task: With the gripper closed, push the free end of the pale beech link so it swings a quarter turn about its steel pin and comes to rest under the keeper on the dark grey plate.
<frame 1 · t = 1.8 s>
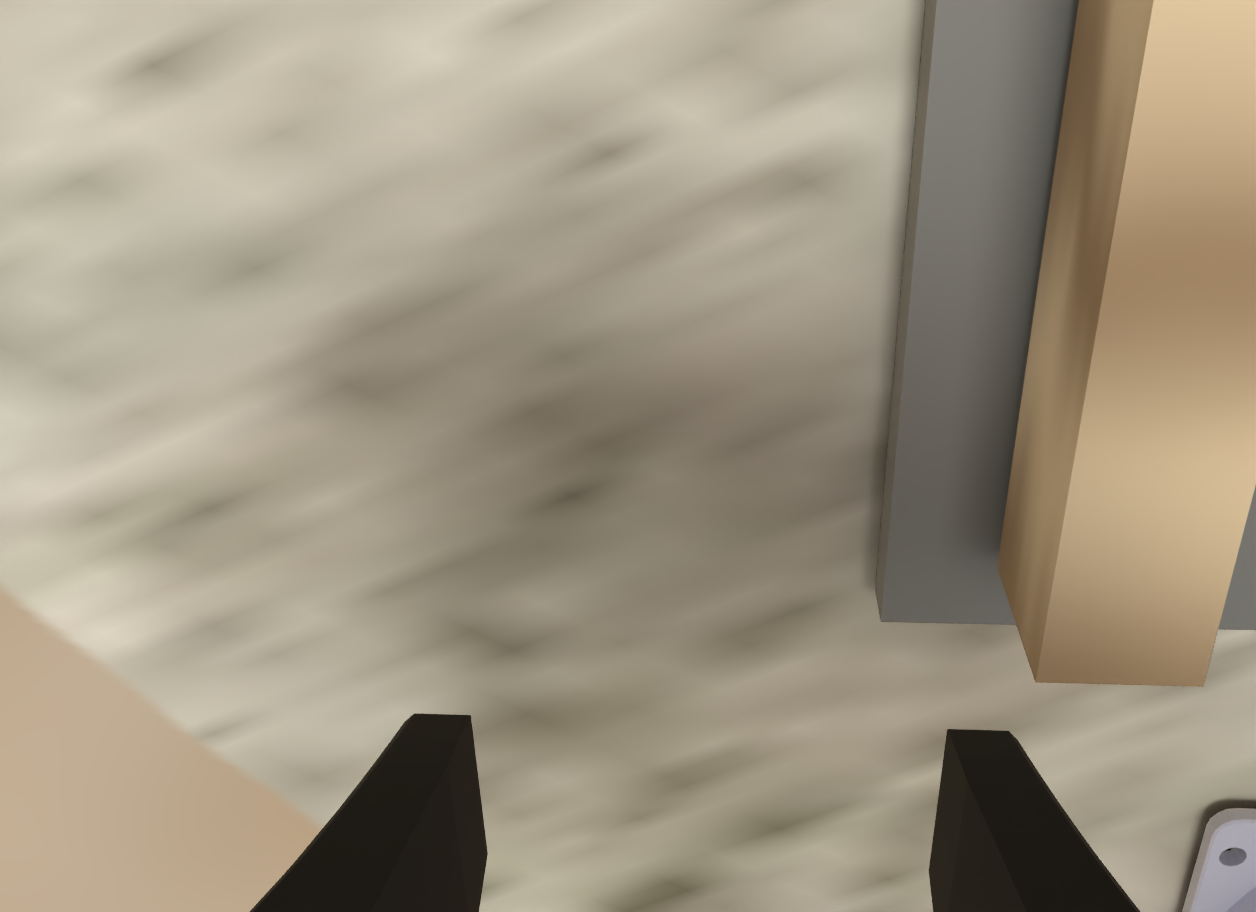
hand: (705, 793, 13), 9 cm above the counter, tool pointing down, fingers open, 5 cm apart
link: (1190, 123, 15), point 3 cm above the counter, hinge at 0.0°
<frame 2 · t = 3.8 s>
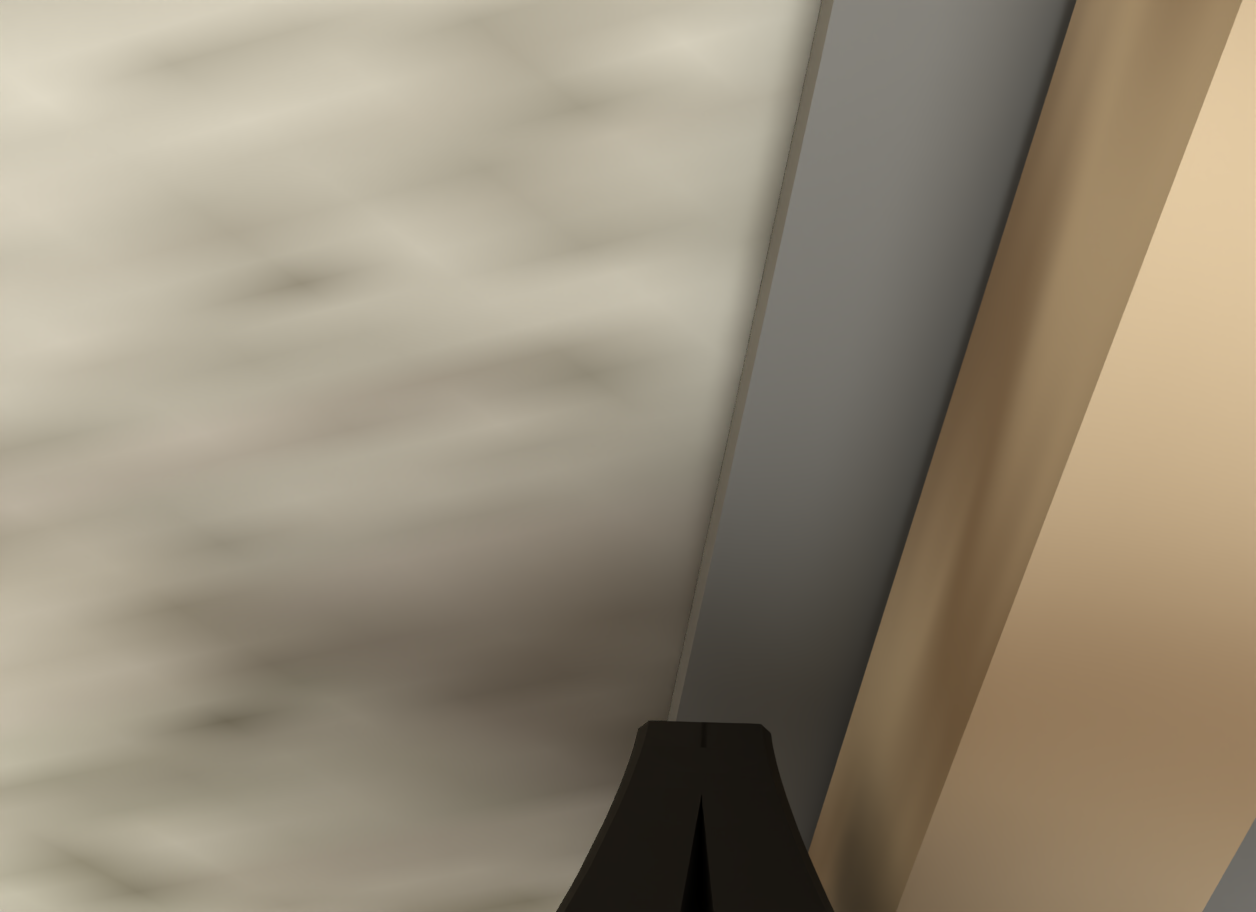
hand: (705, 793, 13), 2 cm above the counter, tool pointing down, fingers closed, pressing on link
link: (1149, 448, 9), point 3 cm above the counter, hinge at 0.0°, touching gripper
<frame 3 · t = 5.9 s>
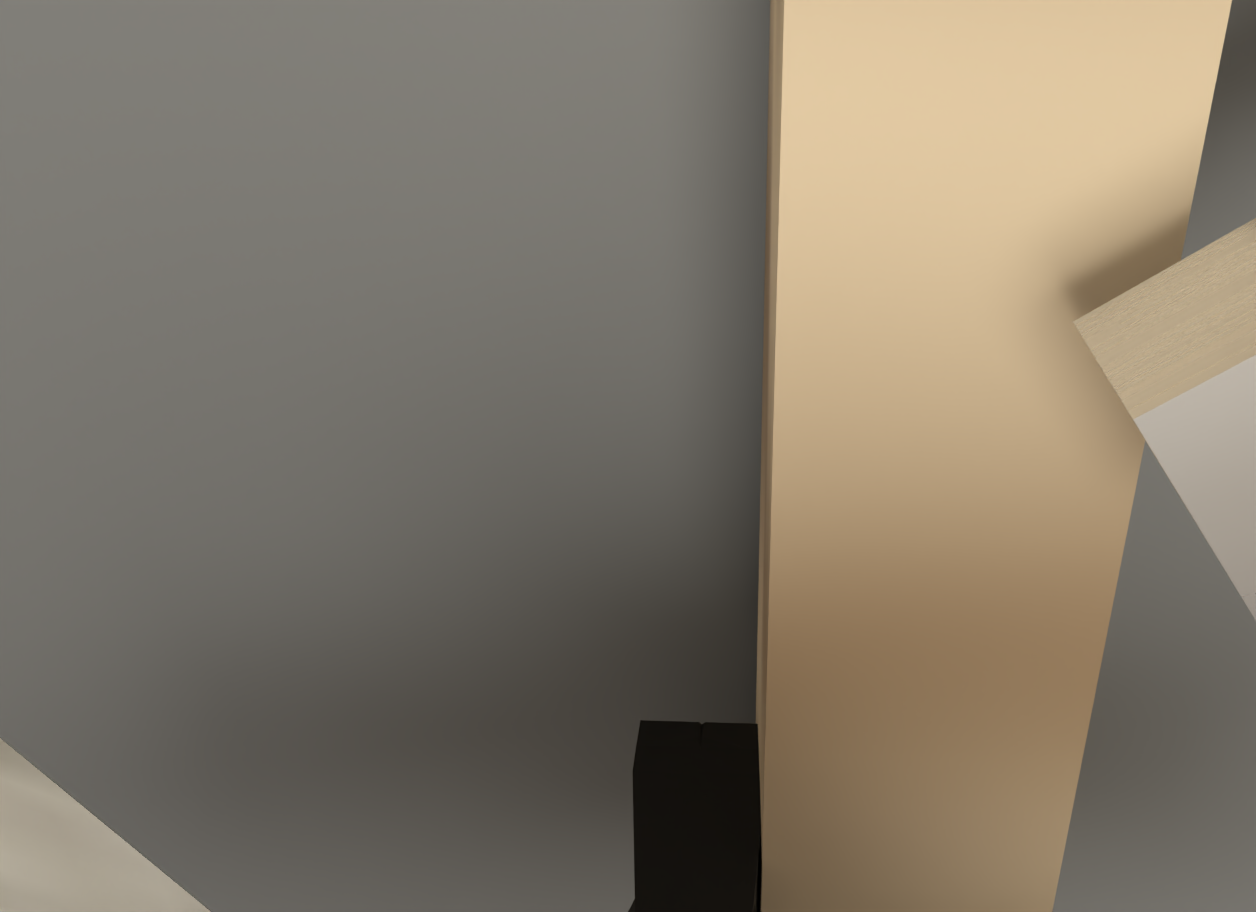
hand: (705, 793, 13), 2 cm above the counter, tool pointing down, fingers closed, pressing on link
base plate: (775, 555, 14), on the counter
keeper: (1187, 53, 11), resting on base plate
link: (921, 390, 9), point 3 cm above the counter, hinge at 55.5°, touching gripper
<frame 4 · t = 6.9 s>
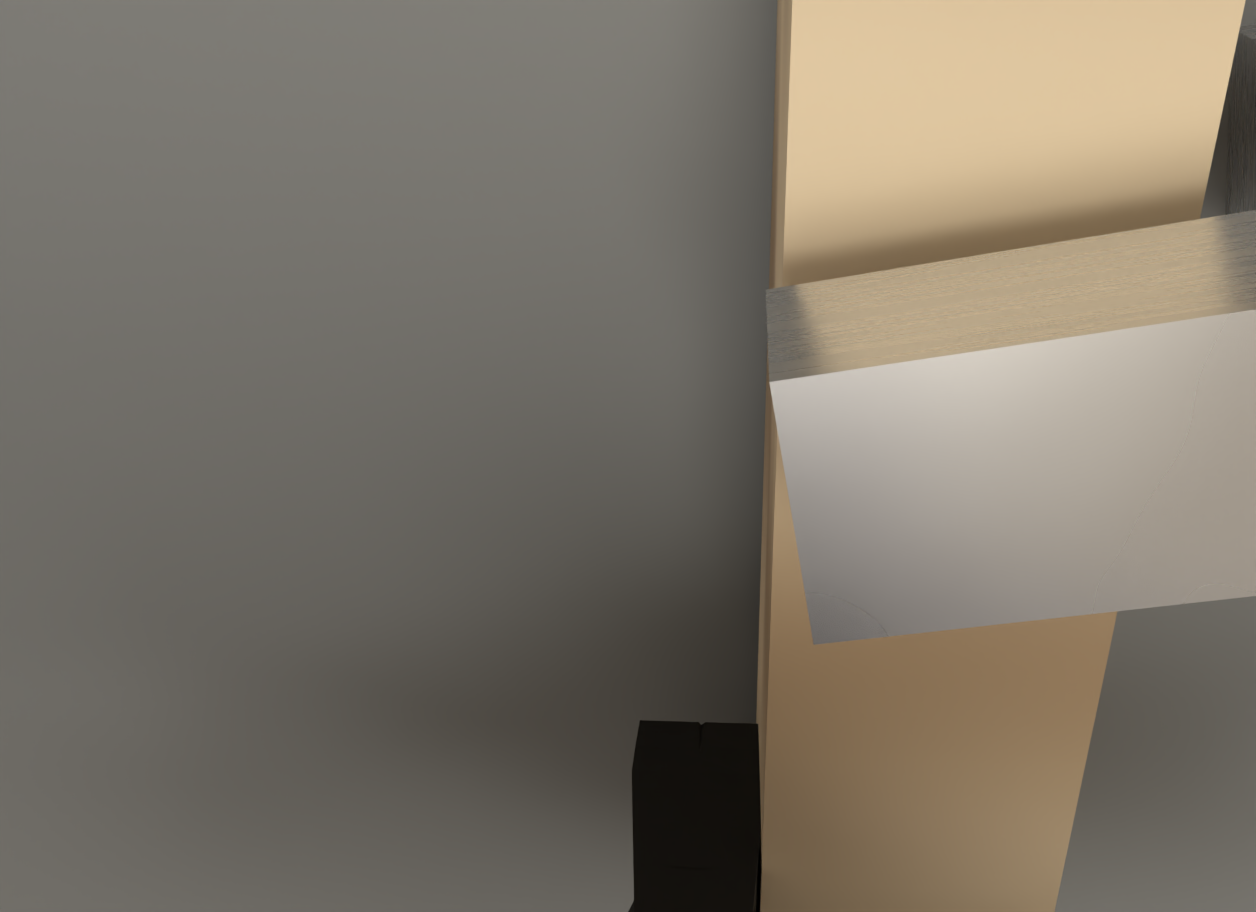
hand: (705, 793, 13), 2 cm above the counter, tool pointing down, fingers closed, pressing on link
base plate: (446, 456, 13), on the counter
keeper: (985, 135, 11), resting on base plate
link: (926, 390, 9), point 3 cm above the counter, hinge at 79.9°, touching gripper
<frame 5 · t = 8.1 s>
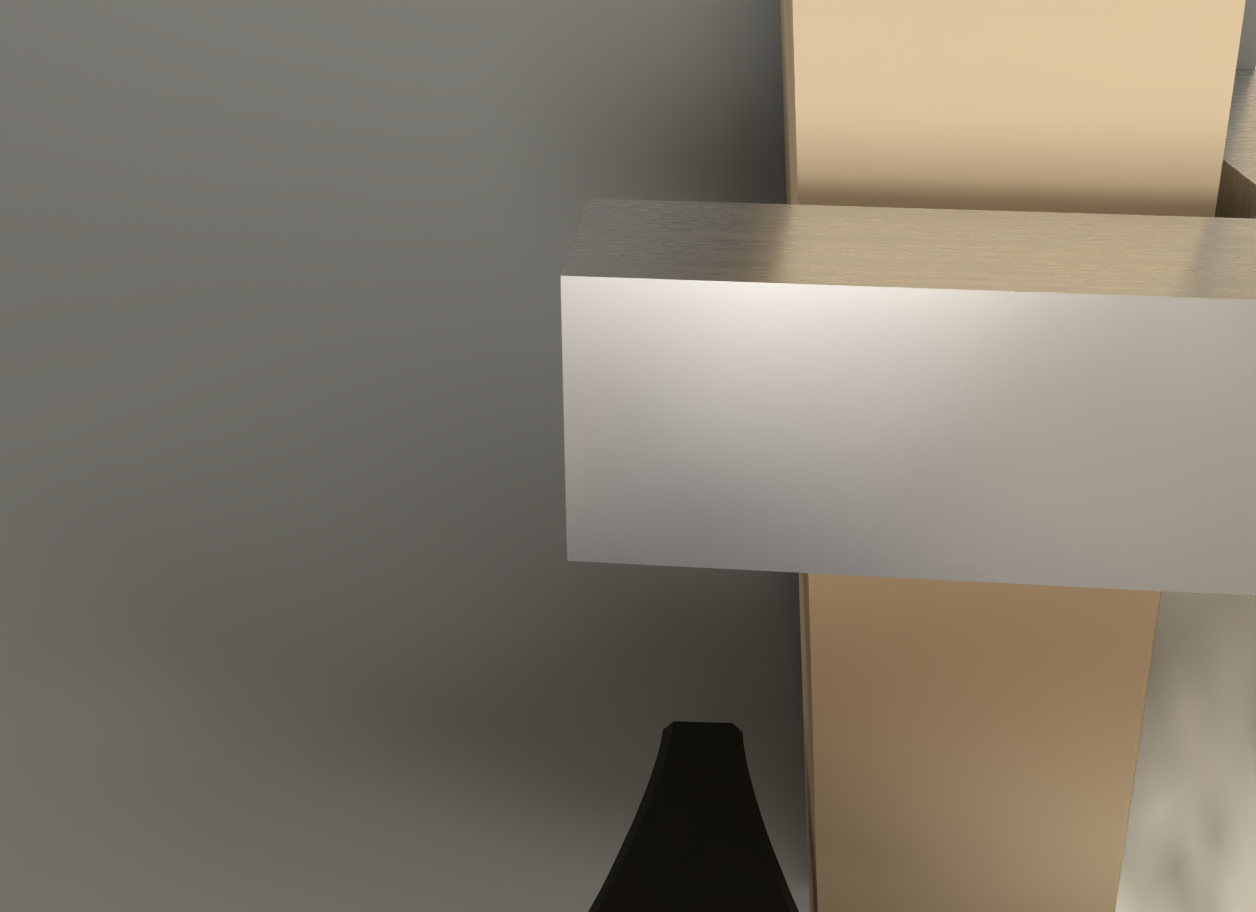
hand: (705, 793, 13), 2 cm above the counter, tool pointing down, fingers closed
base plate: (272, 348, 13), on the counter
keeper: (861, 128, 11), resting on base plate
link: (954, 370, 9), point 3 cm above the counter, hinge at 95.8°, touching gripper
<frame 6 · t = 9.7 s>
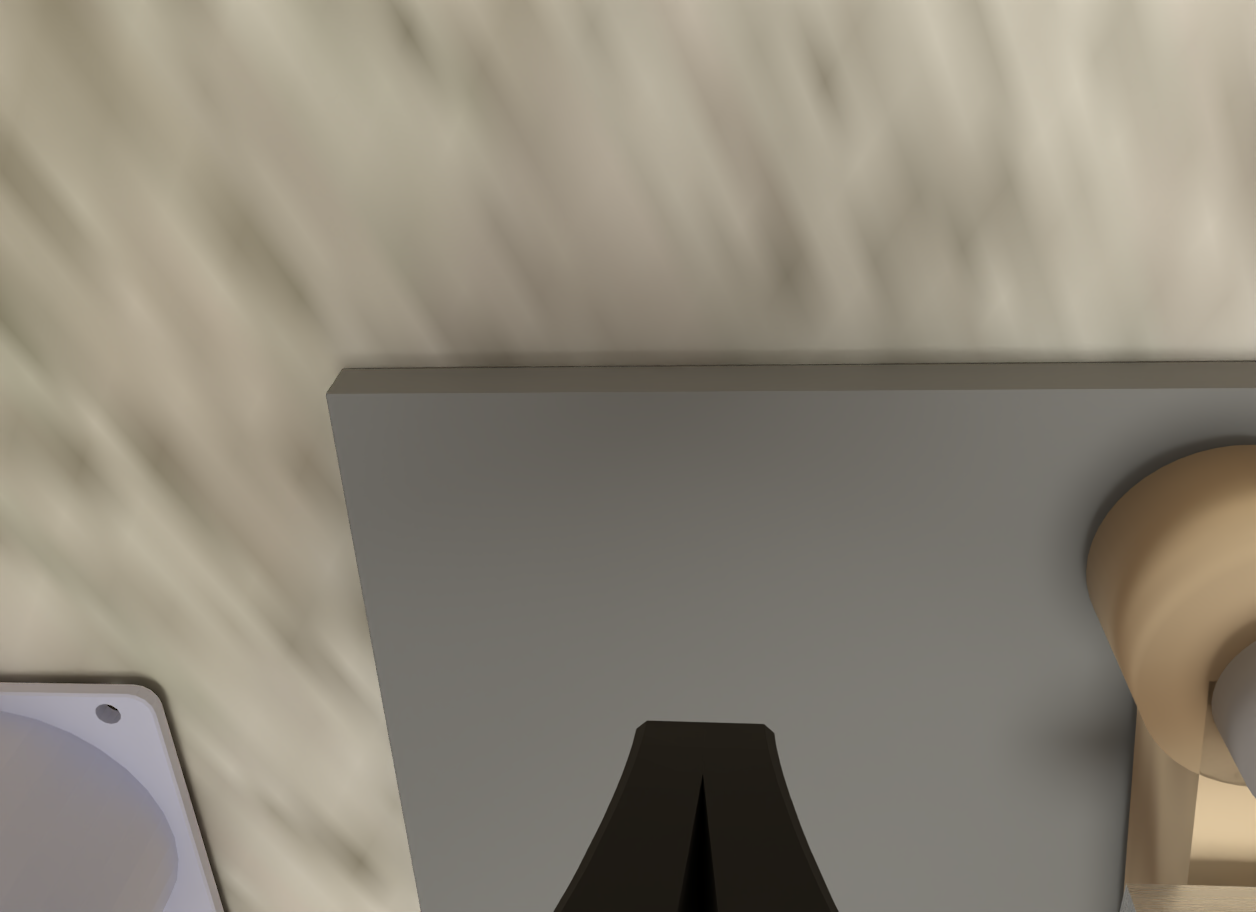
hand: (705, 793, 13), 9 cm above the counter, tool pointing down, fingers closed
base plate: (836, 798, 25), on the counter
keeper: (1151, 711, 23), resting on base plate
link: (1224, 869, 21), point 3 cm above the counter, hinge at 95.8°
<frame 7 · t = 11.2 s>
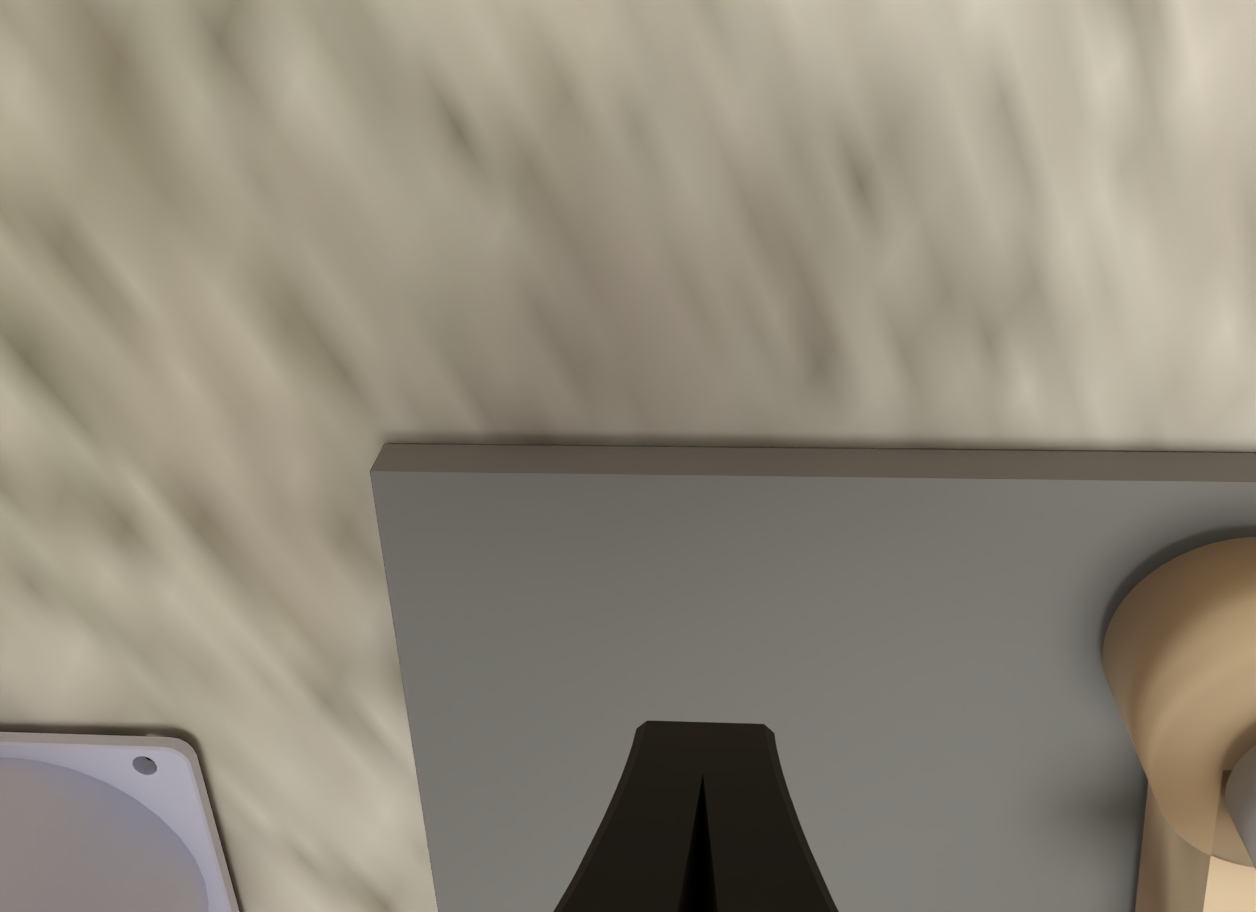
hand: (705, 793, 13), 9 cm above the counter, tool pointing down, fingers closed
base plate: (852, 854, 26), on the counter
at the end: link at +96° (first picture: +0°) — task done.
